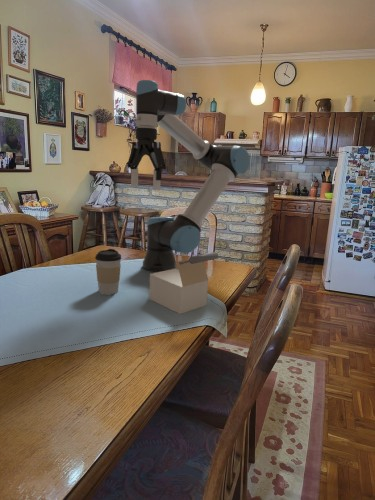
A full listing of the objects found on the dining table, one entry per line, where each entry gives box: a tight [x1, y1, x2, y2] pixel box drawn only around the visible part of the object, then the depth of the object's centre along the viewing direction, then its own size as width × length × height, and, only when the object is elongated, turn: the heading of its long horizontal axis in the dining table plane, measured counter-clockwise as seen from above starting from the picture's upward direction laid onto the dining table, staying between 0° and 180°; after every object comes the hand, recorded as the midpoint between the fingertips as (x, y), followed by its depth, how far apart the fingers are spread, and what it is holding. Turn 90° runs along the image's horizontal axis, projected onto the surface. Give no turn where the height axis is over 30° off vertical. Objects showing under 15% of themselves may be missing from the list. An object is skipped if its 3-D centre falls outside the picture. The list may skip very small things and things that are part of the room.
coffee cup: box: [94, 248, 122, 295], centre depth 127 cm, size 9×9×15 cm
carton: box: [149, 268, 209, 315], centre depth 121 cm, size 12×17×9 cm
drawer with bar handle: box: [176, 251, 219, 287], centre depth 112 cm, size 11×8×8 cm
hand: (145, 188), depth 132 cm, fingers open, 13 cm apart
